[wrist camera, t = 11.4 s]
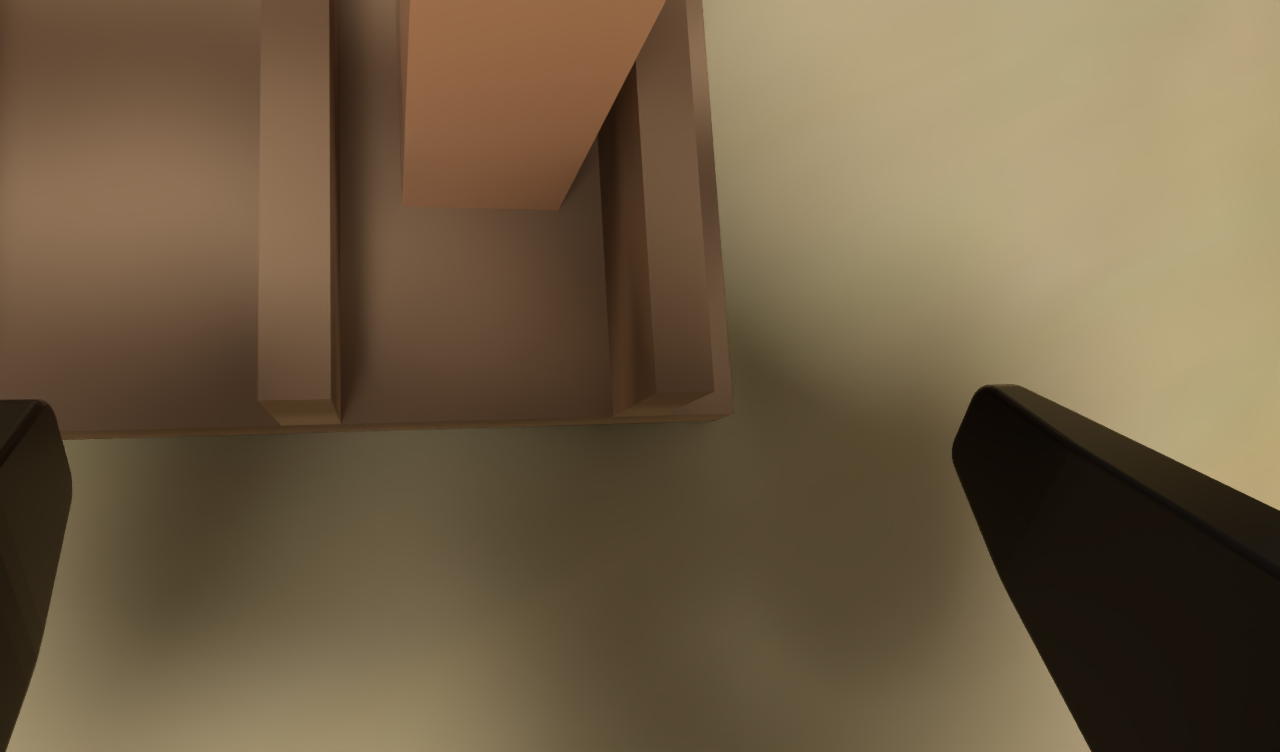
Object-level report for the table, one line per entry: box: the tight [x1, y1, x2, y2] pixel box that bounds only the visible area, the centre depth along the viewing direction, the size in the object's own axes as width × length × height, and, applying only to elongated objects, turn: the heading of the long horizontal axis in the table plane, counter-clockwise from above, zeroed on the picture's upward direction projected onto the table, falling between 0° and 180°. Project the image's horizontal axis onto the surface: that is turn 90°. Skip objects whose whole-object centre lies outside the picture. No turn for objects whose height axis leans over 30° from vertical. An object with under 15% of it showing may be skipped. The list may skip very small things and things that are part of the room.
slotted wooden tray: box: [0, 0, 734, 440], centre depth 16 cm, size 12×16×4 cm
